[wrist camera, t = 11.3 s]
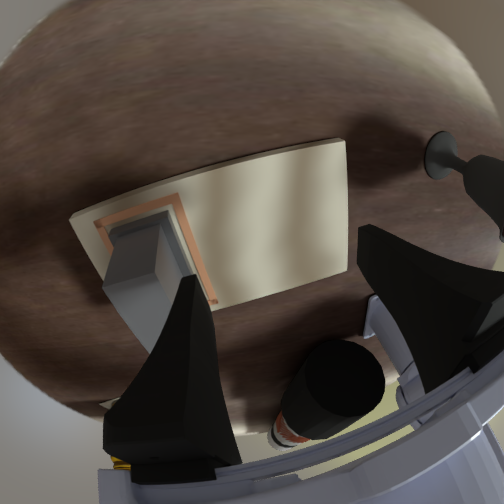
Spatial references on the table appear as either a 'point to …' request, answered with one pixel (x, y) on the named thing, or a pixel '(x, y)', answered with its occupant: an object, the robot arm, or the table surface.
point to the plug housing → (143, 282)
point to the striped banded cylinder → (328, 394)
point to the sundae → (470, 175)
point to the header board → (239, 221)
